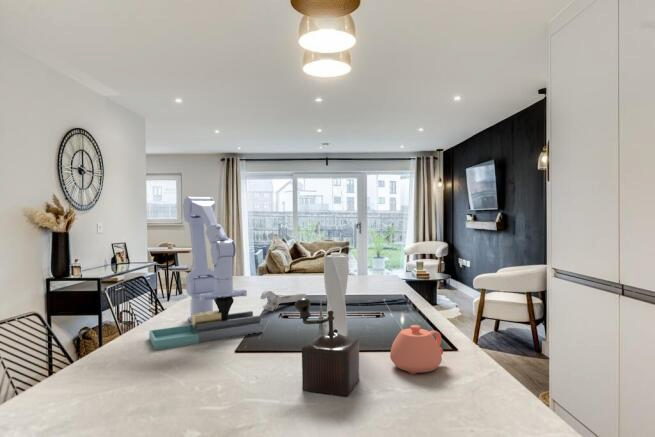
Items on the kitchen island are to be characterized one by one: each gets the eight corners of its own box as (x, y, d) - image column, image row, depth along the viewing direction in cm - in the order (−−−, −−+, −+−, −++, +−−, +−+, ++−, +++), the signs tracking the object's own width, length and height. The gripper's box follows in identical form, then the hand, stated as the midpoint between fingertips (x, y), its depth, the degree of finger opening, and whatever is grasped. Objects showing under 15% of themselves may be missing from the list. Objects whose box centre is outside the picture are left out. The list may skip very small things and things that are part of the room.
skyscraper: (327, 337, 128) (326, 246, 128) (352, 339, 126) (351, 246, 125) (317, 345, 120) (316, 248, 120) (344, 348, 118) (343, 249, 117)
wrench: (305, 306, 183) (263, 313, 157) (302, 306, 183) (259, 312, 157) (306, 287, 183) (264, 291, 157) (303, 287, 184) (260, 291, 158)
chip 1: (192, 326, 130) (192, 313, 130) (205, 324, 132) (205, 311, 132) (195, 329, 126) (194, 316, 126) (208, 327, 128) (208, 314, 128)
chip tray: (149, 338, 127) (149, 330, 127) (189, 332, 133) (189, 324, 133) (154, 349, 117) (154, 340, 117) (198, 342, 123) (198, 334, 123)
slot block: (189, 332, 133) (189, 317, 133) (250, 323, 143) (249, 309, 143) (198, 342, 123) (198, 326, 123) (262, 332, 133) (262, 317, 133)
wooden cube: (205, 324, 132) (205, 311, 132) (217, 322, 134) (217, 310, 134) (208, 327, 128) (208, 314, 128) (221, 325, 130) (221, 312, 130)
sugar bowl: (381, 362, 105) (381, 322, 105) (428, 355, 110) (428, 316, 110) (407, 380, 94) (407, 335, 94) (458, 371, 99) (458, 328, 99)
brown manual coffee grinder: (361, 377, 96) (361, 299, 96) (347, 398, 85) (346, 310, 85) (299, 369, 101) (298, 295, 101) (279, 388, 91) (278, 305, 90)
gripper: (203, 282, 125) (204, 327, 126) (249, 277, 133) (250, 320, 133) (197, 279, 131) (198, 322, 132) (242, 275, 139) (242, 315, 139)
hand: (224, 320), depth 133 cm, fingers closed
